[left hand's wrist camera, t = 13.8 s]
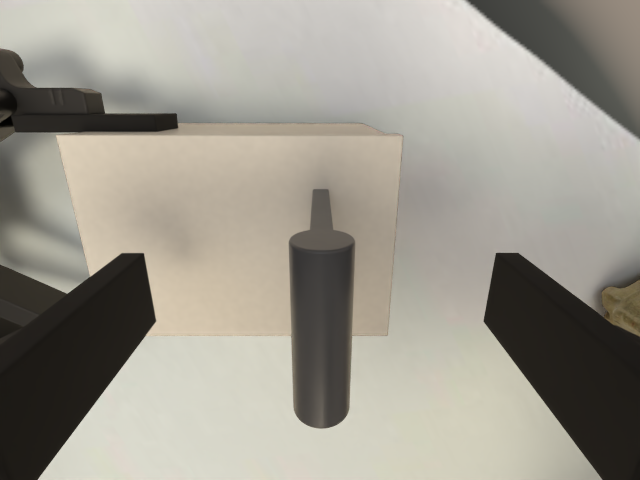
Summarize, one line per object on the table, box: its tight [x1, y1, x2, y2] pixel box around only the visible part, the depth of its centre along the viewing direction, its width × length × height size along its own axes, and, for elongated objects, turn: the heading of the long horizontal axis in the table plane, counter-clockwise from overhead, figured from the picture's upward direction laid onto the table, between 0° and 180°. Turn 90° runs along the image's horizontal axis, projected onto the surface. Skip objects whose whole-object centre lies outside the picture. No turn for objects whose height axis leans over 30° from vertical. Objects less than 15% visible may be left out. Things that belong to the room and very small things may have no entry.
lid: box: [56, 133, 403, 428], centre depth 14 cm, size 14×10×8 cm
